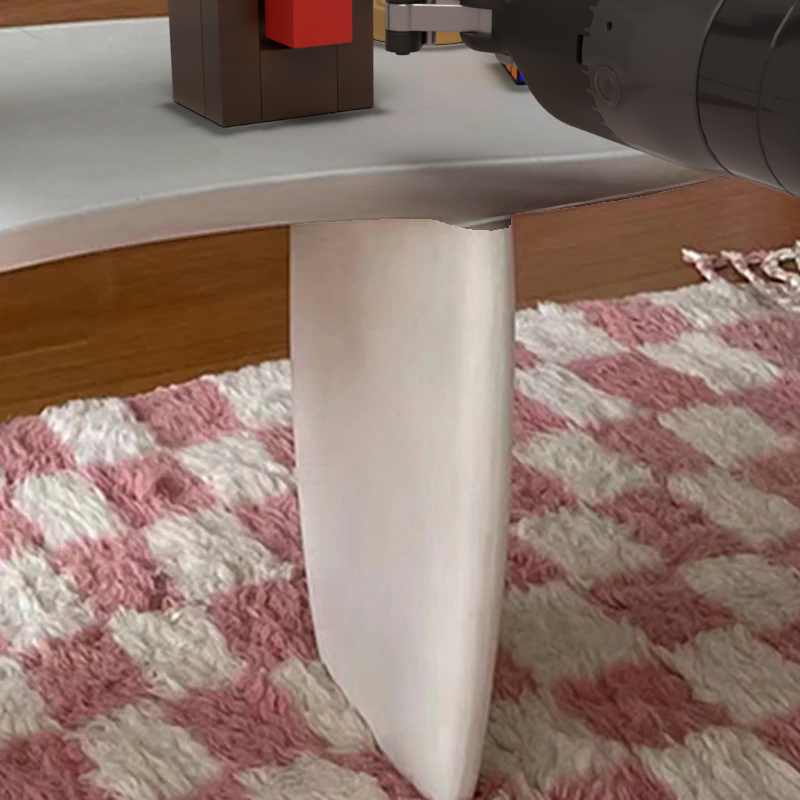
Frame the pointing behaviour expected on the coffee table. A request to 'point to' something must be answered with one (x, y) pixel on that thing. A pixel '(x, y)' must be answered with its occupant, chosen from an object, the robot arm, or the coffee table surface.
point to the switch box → (263, 64)
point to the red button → (308, 22)
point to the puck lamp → (380, 26)
